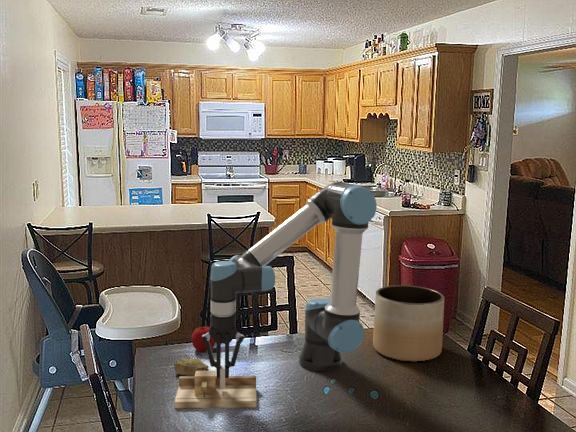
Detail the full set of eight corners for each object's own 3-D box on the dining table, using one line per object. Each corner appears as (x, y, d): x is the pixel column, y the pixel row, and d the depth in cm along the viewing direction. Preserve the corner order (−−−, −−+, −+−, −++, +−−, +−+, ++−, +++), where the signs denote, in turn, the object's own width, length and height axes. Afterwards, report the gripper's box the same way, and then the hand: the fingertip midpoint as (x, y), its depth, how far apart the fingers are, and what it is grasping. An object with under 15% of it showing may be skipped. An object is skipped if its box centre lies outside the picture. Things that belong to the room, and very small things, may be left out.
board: (255, 389, 183) (256, 375, 183) (256, 407, 171) (256, 392, 171) (179, 389, 182) (179, 376, 181) (174, 408, 170) (174, 393, 169)
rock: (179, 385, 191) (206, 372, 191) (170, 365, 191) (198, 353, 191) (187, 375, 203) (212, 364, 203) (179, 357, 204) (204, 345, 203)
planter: (440, 342, 227) (443, 287, 224) (442, 367, 203) (446, 307, 199) (375, 335, 233) (377, 282, 229) (369, 359, 208) (372, 300, 205)
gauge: (215, 389, 178) (215, 370, 177) (214, 401, 170) (214, 382, 169) (195, 389, 178) (195, 370, 177) (193, 402, 170) (193, 383, 169)
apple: (214, 354, 210) (214, 328, 208) (189, 354, 210) (189, 328, 208) (217, 345, 219) (217, 320, 218) (193, 344, 219) (193, 319, 218)
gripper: (245, 309, 177) (244, 382, 181) (202, 309, 176) (202, 382, 180) (244, 317, 170) (243, 392, 173) (200, 317, 169) (200, 393, 172)
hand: (222, 387), depth 177 cm, fingers closed
